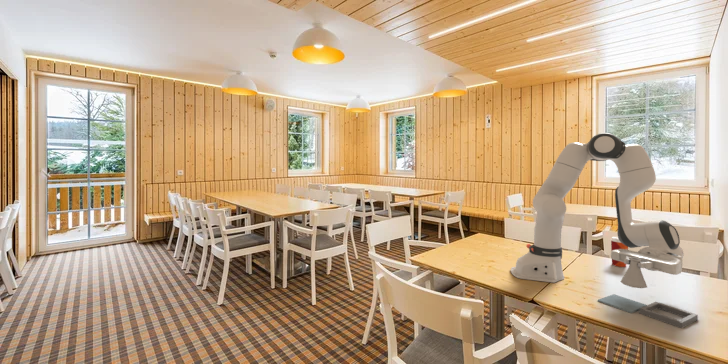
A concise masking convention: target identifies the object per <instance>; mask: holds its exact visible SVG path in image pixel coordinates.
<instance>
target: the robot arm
mask: <svg viewBox="0 0 728 364" xmlns="http://www.w3.org/2000/svg"><path fill="white" fill-rule="evenodd" d="M608 160H609V161H611V162H613V163H614V164H615V165H616V168H617V172H618V174H619V175H618V176H619V184H618V186H617V187H616V188H615V190H614V191H615V192H614V198H615V201H614V203H615V209H616V217H617V237H618V239H619V241H620V242H621V243H622V244H624V245H625V246H627V247H628V250H626V249H616V250H612V251H610V259H611V260H612V259H613V260H617V261H621V262H624V264H626V265H628V266H629V265H630V259H629V258H630V257H634V258H639V259H641V261H640V262H638V267H640V268H641V269H646V270H648V271H651V272H653V271H654V272H662V273H666V274H670V275H680V274H681V273H682V271H683V260H684V255H685V253H684V251H683V250H684V249H682V247H681V246H680V244H681V243H680V242H681V241H680V236H679V235H680V234H679V233H678V230H677V229H676V227H675V226H673V225H672V224H671V223H670V222H668V221H666V220H662V219H661V220H652V221H646V222H645V221H643V222H636V223H635V222H634V221H633V215H632V205H631V204H632V201H633V200H634V198H637V196H639V195H641V194H643V193H644V192H646V191H648V190H649V189H651V188H652V187H653V186H654V184H655V182H656V181H657V180H656V179H657V175H656V171H655V169H654V166H653V163H652V160H651V159H650V156H649V154H648V153H647V151H646V150H645V148H644V147H643V145H640V144H636V143H631V144H630V143H629V144H626V143H625V142H624V141H623V140H621V139H620V138H619V137H618V136H616V135H614V134H612V133H609V132H600V133H597V134H595V135H594V136H592V137H591V139H589V141H588V142H586V143H580V142H576V141H575V142H570V143H568V144H566V146H565V147H564V148H563V149H562V150H561V152H560V153H559V155H558V157H557V158H556V160H555V162H554V165H553V167H552V168H551V170H550V172H549V174H548V176H547V177H546V179H545V180H544V182H543V184H542V185H541V186H540V188H539V189H538V191H537V192H536V194H535V195H534V196H533V198H532V206H533V208H534V210H535V211H536V221H535V226H534V228H533V230H534V232H533V233H534V234H533V244H532V245H531V243H527V244H526V245H525V246H526V248H527V249H528V252H526V253H525V254H523V255H522V256H520V257H518V258H517V260H516V262H515V266H512V267H511V268H510V273H511V275H513V276H514V277H515V278H517V279H521V280H529V281H536V282H537V281H538V282H547V283H552V284H554V283H557V282H559V281H562V280H564V279H565V276H564V271H563V265H562V258H563V247H562V231H563V230H562V229H563V225H564V220H565V214H566V212H567V205H566V202H565V200H564V198H565V197H566V195H567V194H568V193H569V192H570V191H571V190H572V189H573V188H574V187H575V185H576V183H577V181H578V179H579V177H580V175H581V173H582V171H583V170H584V168H585V166H586V165H587V163H588V162H589V161H594V162H595V161H596V162H605V161H608ZM641 247H642V248H641ZM629 248H630V249H629ZM634 248H640V249H639V250H638V251H634V250H631V249H634Z"/></svg>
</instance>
